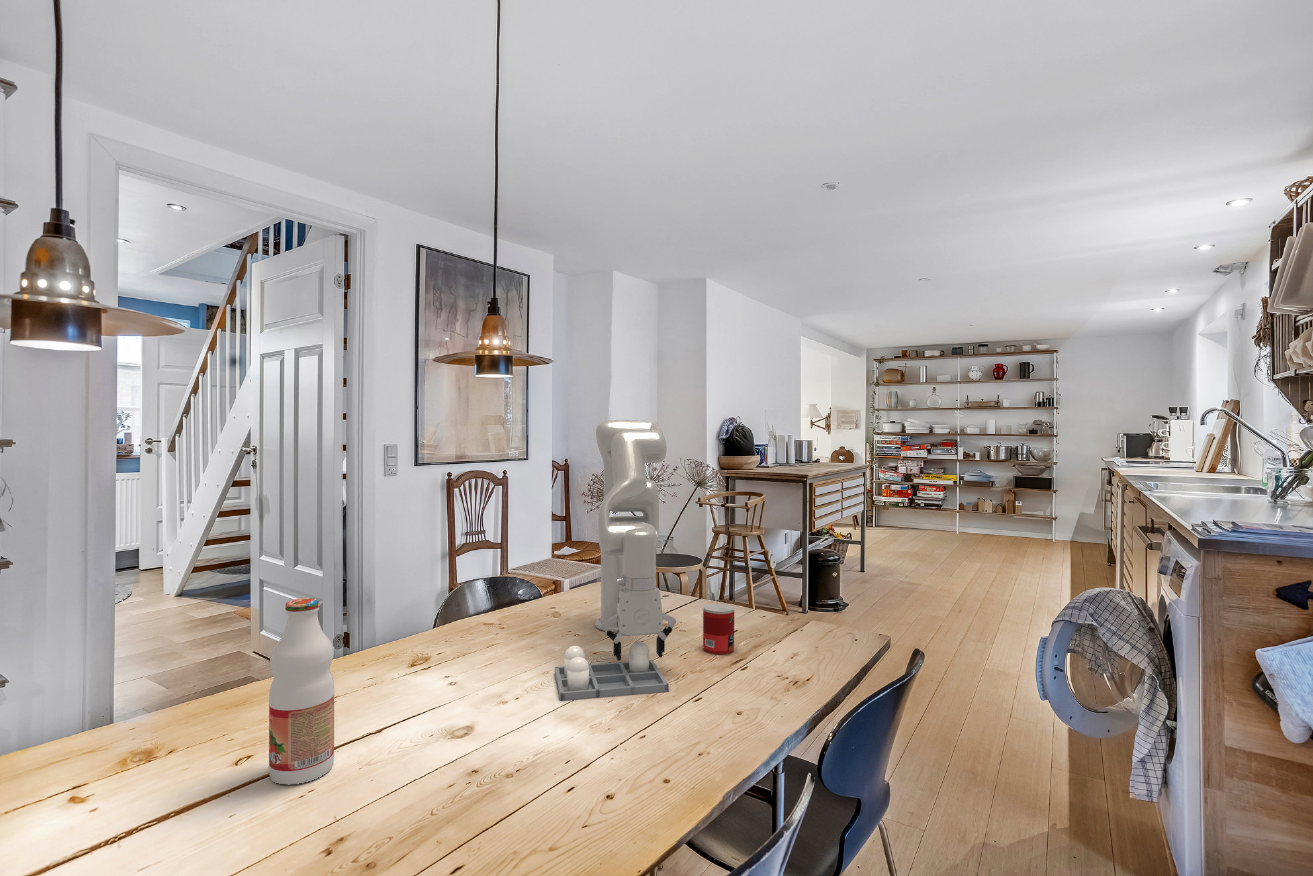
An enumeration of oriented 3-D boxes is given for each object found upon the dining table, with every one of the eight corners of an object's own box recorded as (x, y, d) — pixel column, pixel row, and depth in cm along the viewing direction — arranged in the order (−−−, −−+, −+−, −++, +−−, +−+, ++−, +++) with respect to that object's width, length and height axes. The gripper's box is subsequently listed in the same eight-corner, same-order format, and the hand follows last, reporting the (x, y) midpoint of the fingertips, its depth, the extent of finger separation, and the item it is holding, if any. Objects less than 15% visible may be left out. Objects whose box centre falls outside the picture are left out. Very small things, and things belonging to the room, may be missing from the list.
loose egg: (627, 670, 152) (627, 639, 152) (646, 669, 153) (646, 638, 153) (631, 678, 147) (631, 645, 147) (651, 676, 148) (651, 644, 148)
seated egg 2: (566, 688, 141) (566, 654, 141) (587, 686, 142) (587, 653, 142) (568, 696, 137) (568, 661, 137) (590, 694, 138) (590, 660, 138)
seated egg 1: (563, 675, 148) (563, 643, 148) (583, 674, 150) (583, 642, 149) (565, 683, 144) (565, 650, 144) (586, 681, 145) (586, 648, 145)
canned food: (735, 655, 164) (735, 611, 164) (703, 654, 165) (704, 611, 165) (732, 645, 172) (732, 603, 172) (702, 645, 172) (702, 603, 172)
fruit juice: (320, 785, 103) (320, 608, 103) (257, 788, 102) (257, 609, 102) (343, 756, 112) (343, 593, 112) (285, 758, 111) (285, 594, 111)
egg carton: (554, 675, 150) (554, 667, 150) (652, 668, 155) (652, 659, 155) (560, 703, 135) (560, 693, 135) (668, 693, 140) (668, 684, 140)
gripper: (604, 589, 144) (604, 666, 145) (680, 585, 148) (679, 660, 149) (599, 581, 152) (599, 654, 152) (671, 577, 156) (671, 649, 156)
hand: (639, 657), depth 150 cm, fingers open, 9 cm apart
